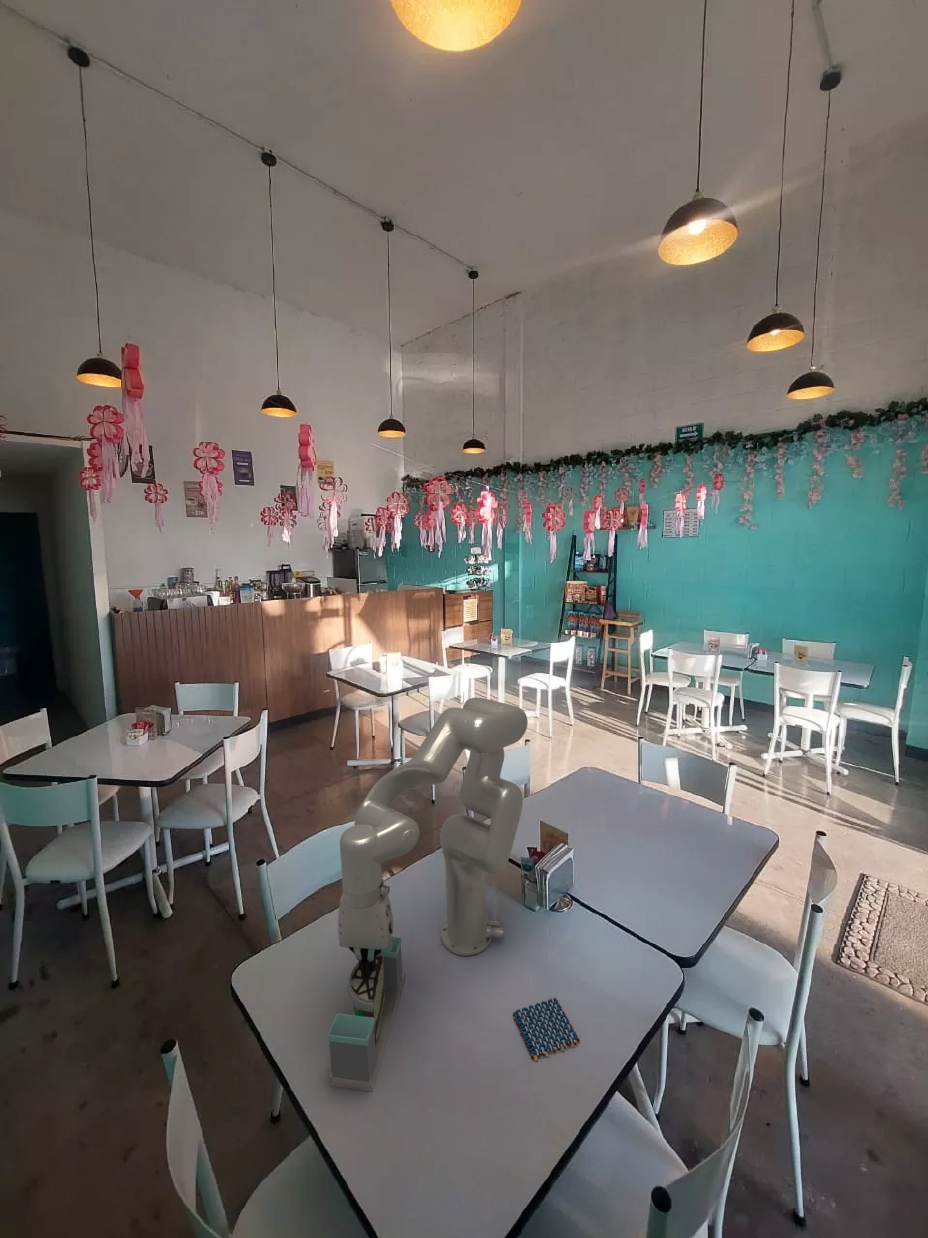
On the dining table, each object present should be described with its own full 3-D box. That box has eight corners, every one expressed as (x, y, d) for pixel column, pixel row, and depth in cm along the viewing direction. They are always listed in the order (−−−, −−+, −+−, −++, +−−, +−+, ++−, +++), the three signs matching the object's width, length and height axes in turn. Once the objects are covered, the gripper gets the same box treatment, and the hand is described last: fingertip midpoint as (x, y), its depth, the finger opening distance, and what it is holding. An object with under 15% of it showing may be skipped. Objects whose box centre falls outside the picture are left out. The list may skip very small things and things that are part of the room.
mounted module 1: (376, 1059, 95) (374, 1018, 94) (369, 1082, 91) (366, 1040, 90) (340, 1054, 96) (337, 1013, 95) (331, 1077, 92) (328, 1035, 91)
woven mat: (582, 1047, 99) (582, 1039, 99) (532, 1066, 96) (532, 1056, 96) (556, 1001, 109) (556, 993, 109) (510, 1016, 106) (510, 1008, 105)
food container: (357, 991, 110) (354, 950, 108) (385, 990, 109) (383, 950, 108) (343, 1048, 97) (339, 1003, 96) (375, 1048, 97) (372, 1003, 96)
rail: (404, 981, 114) (404, 973, 114) (372, 1091, 91) (371, 1082, 91) (370, 977, 115) (370, 970, 115) (330, 1086, 93) (329, 1076, 92)
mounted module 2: (402, 973, 114) (401, 937, 112) (397, 989, 110) (396, 953, 108) (371, 970, 115) (369, 934, 113) (365, 986, 111) (363, 949, 109)
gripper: (405, 880, 101) (409, 961, 104) (333, 874, 103) (339, 954, 106) (395, 907, 93) (399, 994, 96) (318, 901, 95) (324, 985, 99)
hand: (368, 973), depth 101 cm, fingers closed
